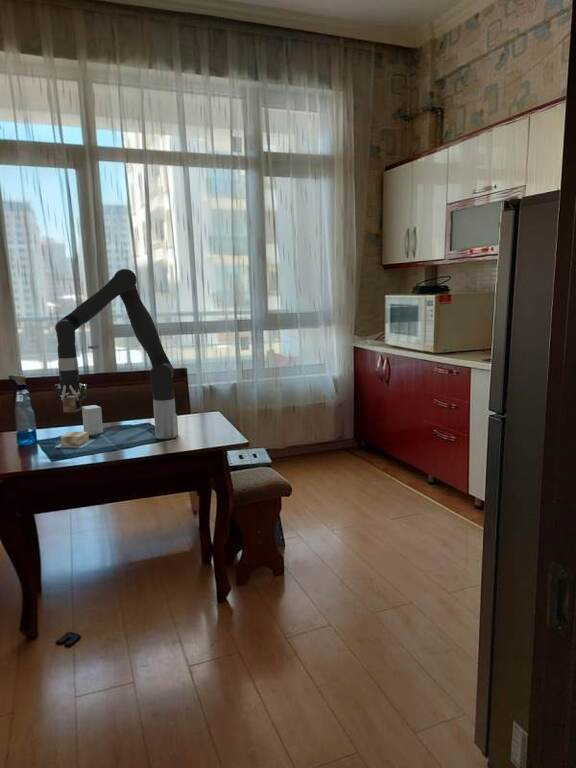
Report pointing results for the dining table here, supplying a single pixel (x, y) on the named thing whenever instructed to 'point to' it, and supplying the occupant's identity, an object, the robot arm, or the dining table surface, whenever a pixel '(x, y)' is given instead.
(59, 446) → the board
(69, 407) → the walnut block
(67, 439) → the beech block
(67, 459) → the dining table surface
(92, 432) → the small box
